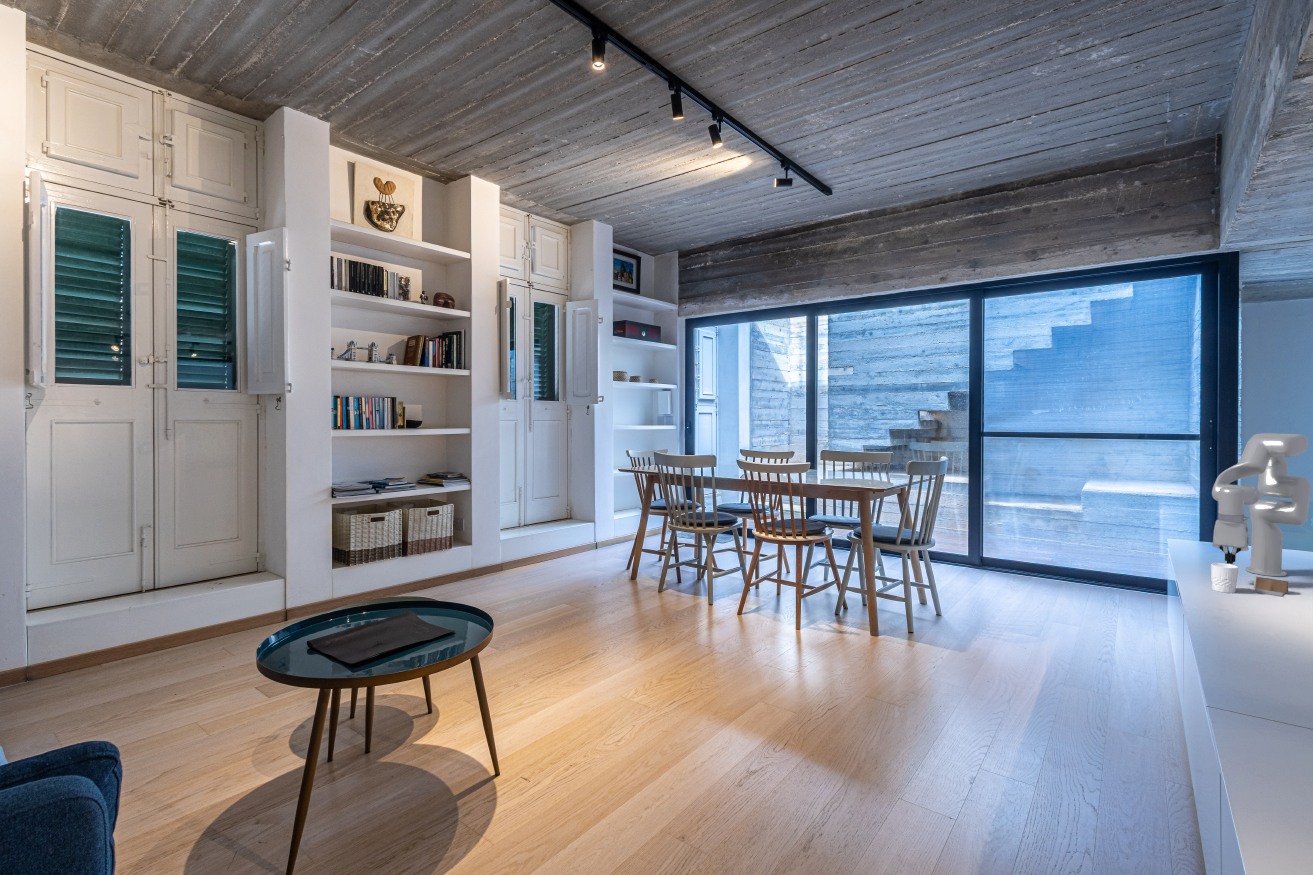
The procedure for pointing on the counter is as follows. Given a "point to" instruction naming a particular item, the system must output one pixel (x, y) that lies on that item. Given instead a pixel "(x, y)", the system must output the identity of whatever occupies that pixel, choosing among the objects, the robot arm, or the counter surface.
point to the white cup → (1224, 577)
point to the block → (1271, 584)
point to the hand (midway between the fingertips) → (1230, 563)
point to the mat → (1269, 592)
